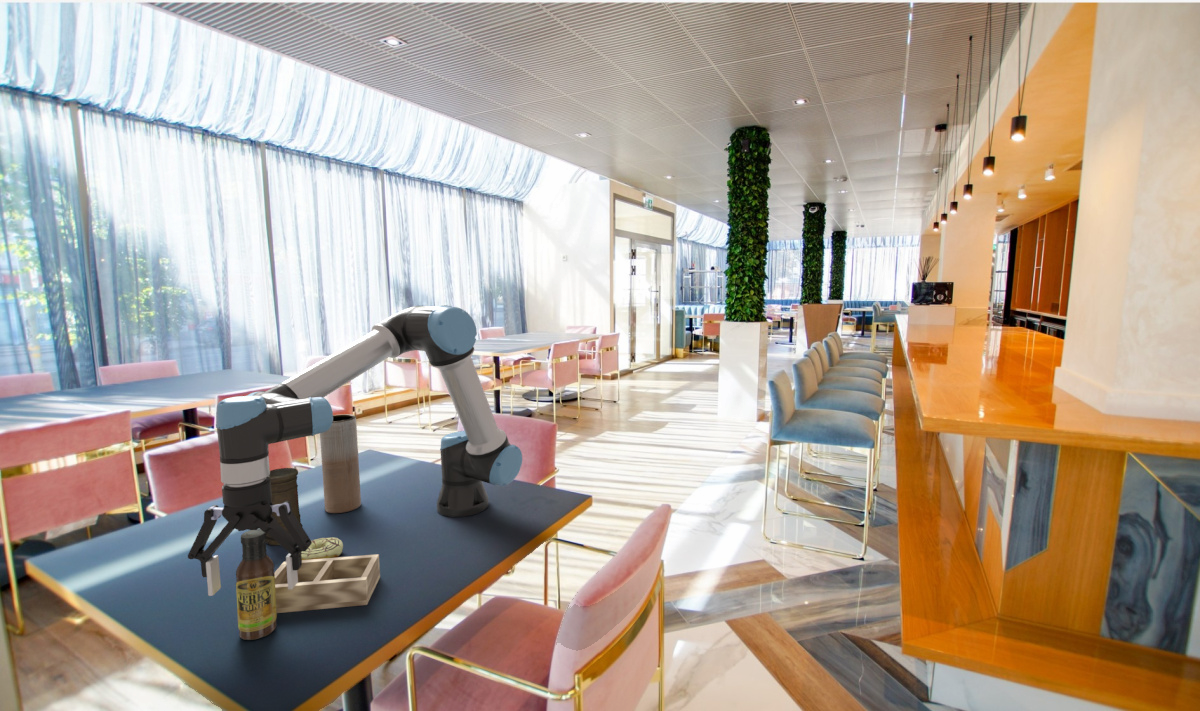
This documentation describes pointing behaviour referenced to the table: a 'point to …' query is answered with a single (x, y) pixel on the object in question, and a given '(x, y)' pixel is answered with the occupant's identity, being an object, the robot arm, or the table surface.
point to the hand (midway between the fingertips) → (254, 588)
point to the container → (283, 494)
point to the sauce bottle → (255, 588)
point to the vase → (341, 465)
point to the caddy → (328, 583)
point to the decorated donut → (323, 549)
